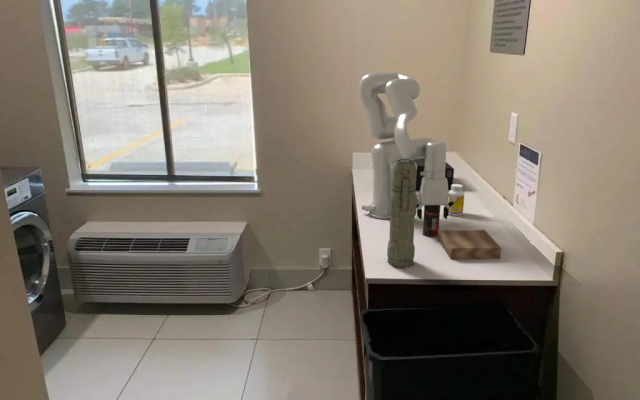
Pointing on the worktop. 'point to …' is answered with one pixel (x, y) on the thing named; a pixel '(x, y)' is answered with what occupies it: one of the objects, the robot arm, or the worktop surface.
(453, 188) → the supplement bottle
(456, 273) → the worktop surface
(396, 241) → the thermos
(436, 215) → the deodorant
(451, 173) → the headphone box
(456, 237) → the walnut stand
